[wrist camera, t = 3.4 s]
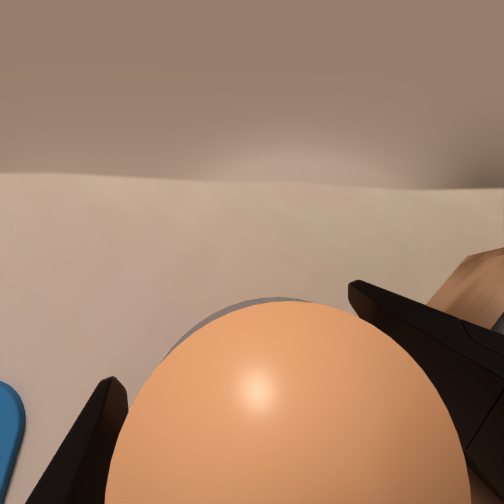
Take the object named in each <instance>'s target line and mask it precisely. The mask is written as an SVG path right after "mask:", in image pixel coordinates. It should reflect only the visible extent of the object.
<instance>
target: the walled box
mask: <svg viewBox="0 0 504 504" xmlns="http://www.w3.org/2000/svg"><path fill="white" fill-rule="evenodd" d="M427 306H429V307H432V308H434V309H437V310H440V311H442V312H445V313H447V314H450V315H453V316H455V317H458V318H459V319H463V320H466V321H468V322H471V323H474V324H476V325H479V326H482V327H484V328H487V329H490V330H493V331H496V332H499V333H502V334H504V247H503V248H499V249H495V250H491V251H487V252H483V253H479V254H474V255H470V256H467V257H466V258H465V260H464V261H463V262H462V263H461V264H460V266H459V267H458V268H457V269H456V270H455V271H454V273H453V274H452V275H451V276H450V277H449V279H448V280H447V281H446V282H445V283H444V284H443V286H442V287H441V288H440V289H439V290H438V292H437V293H436V294H435V295H434V296H433V298H432V299H431V300H430V301H429V302H428V303H427ZM461 447H462V446H461ZM462 451H463V454H464V457H465V462H466V467H467V473H468V478H469V483H470V494H471V504H504V498H503V496H502V495H501V494H500V493H499V491H498V490H497V489H496V488H495V487H494V485H493V484H492V483H491V482H490V480H489V479H488V478H487V477H486V476H485V474H484V473H483V472H482V471H481V469H480V468H479V467H478V466H477V465H476V463H475V462H474V461H473V460H472V458H471V457H470V456H469V455H468V454H467V452H466V450H464V448H463V447H462Z"/></svg>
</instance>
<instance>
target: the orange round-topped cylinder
mask: <svg viewBox="0 0 504 504" xmlns="http://www.w3.org/2000/svg"><path fill="white" fill-rule="evenodd" d="M105 504H471V494H470V483H469V478H468V473H467V467H466V462H465V457H464V454H463V451H462V447H461V444H460V441H459V437H458V434H457V431H456V429H455V427H454V424H453V422H452V419H451V417H450V415H449V412H448V410H447V408H446V406H445V404H444V403H443V401H442V399H441V397H440V395H439V394H438V392H437V390H436V388H435V387H434V385H433V384H432V383H431V381H430V380H429V378H428V377H427V375H426V374H425V373H424V371H423V370H422V369H421V367H420V366H419V365H418V364H417V363H416V362H415V361H414V360H413V358H412V357H411V356H410V355H409V354H408V353H407V352H406V351H405V350H404V349H403V348H402V347H401V346H399V345H398V344H397V343H396V342H395V341H394V340H393V339H392V338H391V337H389V336H388V335H386V334H385V333H383V332H382V331H381V330H379V329H378V328H376V327H375V326H373V325H372V324H370V323H368V322H366V321H364V320H362V319H360V318H358V317H357V316H355V315H352V314H350V313H347V312H344V311H342V310H339V309H336V308H333V307H329V306H325V305H320V304H316V303H312V302H308V301H304V300H299V299H293V298H282V297H275V298H260V299H254V300H249V301H244V302H241V303H238V304H235V305H232V306H229V307H227V308H225V309H222V310H220V311H218V312H216V313H214V314H212V315H211V316H209V317H207V318H206V319H204V320H203V321H201V322H200V323H198V324H197V325H196V326H194V327H193V328H192V329H191V330H190V331H188V332H187V333H186V334H185V335H184V336H183V337H182V338H181V339H180V340H179V341H178V342H177V343H176V344H175V345H174V346H173V347H172V348H171V350H170V351H169V352H168V354H167V355H166V356H165V358H164V359H163V360H162V362H161V363H160V364H159V366H158V367H157V368H156V369H155V371H154V372H153V373H152V375H151V376H150V378H149V379H148V380H147V382H146V383H145V384H144V386H143V387H142V389H141V391H140V392H139V394H138V396H137V398H136V399H135V401H134V403H133V405H132V406H131V408H130V410H129V412H128V415H127V417H126V419H125V422H124V424H123V426H122V429H121V431H120V433H119V436H118V439H117V443H116V446H115V449H114V453H113V456H112V460H111V463H110V469H109V475H108V480H107V486H106V492H105Z"/></svg>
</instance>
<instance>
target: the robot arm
mask: <svg viewBox="0 0 504 504" xmlns="http://www.w3.org/2000/svg"><path fill="white" fill-rule="evenodd" d="M348 299H349V302H350V304H351V306H352V307H353V309H354V310H355V312H356V313H357V315H358V316H359V318H360V319H362V320H364V321H366V322H368V323H370V324H372V325H373V326H375V327H376V328H378V329H379V330H381V331H382V332H383V333H385V334H386V335H388V336H389V337H391V338H392V339H393V340H394V341H395V342H396V343H397V344H398V345H399V346H401V347H402V348H403V349H404V350H405V351H406V352H407V353H408V354H409V355H410V356H411V357H412V358H413V360H414V361H415V362H416V363H417V364H418V365H419V366H420V367H421V369H422V370H423V371H424V373H425V374H426V375H427V377H428V378H429V380H430V381H431V383H432V384H433V385H434V387H435V388H436V390H437V392H438V394H439V395H440V397H441V399H442V401H443V403H444V404H445V406H446V408H447V410H448V412H449V415H450V417H451V419H452V422H453V424H454V427H455V429H456V431H457V434H458V437H459V441H460V444H461V446H462V447H463V448H464V450H466V452H467V454H468V455H469V456H470V457H471V458H472V460H473V461H474V462H475V463H476V465H477V466H478V467H479V468H480V469H481V471H482V472H483V473H484V474H485V476H486V477H487V478H488V479H489V480H490V482H491V483H492V484H493V485H494V487H495V488H496V489H497V490H498V491H499V493H500V494H501V495H502V496H503V498H504V334H502V333H499V332H496V331H493V330H490V329H487V328H484V327H482V326H479V325H476V324H474V323H471V322H468V321H466V320H463V319H459V318H458V317H455V316H453V315H450V314H447V313H445V312H442V311H440V310H437V309H434V308H432V307H429V306H427V305H424V304H421V303H419V302H416V301H414V300H411V299H408V298H406V297H403V296H401V295H398V294H396V293H393V292H390V291H388V290H385V289H383V288H380V287H377V286H375V285H372V284H370V283H367V282H364V281H362V280H355V281H353V282H350V283H349V284H348ZM127 415H128V400H127V392H126V389H125V387H124V386H123V385H122V384H121V383H120V382H119V381H118V380H117V378H116V377H114V376H111V377H108V378H106V379H103V380H101V381H100V382H99V384H98V385H97V387H96V389H95V390H94V392H93V393H92V395H91V397H90V398H89V400H88V402H87V403H86V405H85V407H84V408H83V410H82V411H81V413H80V415H79V416H78V418H77V420H76V421H75V423H74V424H73V426H72V428H71V429H70V431H69V433H68V434H67V436H66V437H65V439H64V441H63V442H62V444H61V446H60V447H59V449H58V451H57V452H56V454H55V455H54V457H53V459H52V460H51V462H50V464H49V465H48V467H47V468H46V470H45V472H44V473H43V475H42V477H41V478H40V480H39V482H38V483H37V485H36V486H35V488H34V490H33V491H32V493H31V495H30V496H29V498H28V499H27V501H26V503H25V504H105V492H106V486H107V480H108V475H109V469H110V463H111V460H112V456H113V453H114V449H115V446H116V443H117V439H118V436H119V433H120V431H121V429H122V426H123V424H124V422H125V419H126V417H127Z"/></svg>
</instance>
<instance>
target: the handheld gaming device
mask: <svg viewBox="0 0 504 504" xmlns="http://www.w3.org/2000/svg"><path fill="white" fill-rule="evenodd" d="M24 428H25V409H24V405H23V402H22V400H21V398H20V396H19V395H18V393H17V392H16V391H15V390H14V389H13V388H12V387H11V386H9V385H8V384H6V383H4V382H1V381H0V504H2V503H3V500H4V496H5V493H6V490H7V486H8V483H9V479H10V476H11V473H12V469H13V466H14V463H15V459H16V456H17V453H18V449H19V446H20V443H21V439H22V436H23V432H24Z"/></svg>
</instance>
